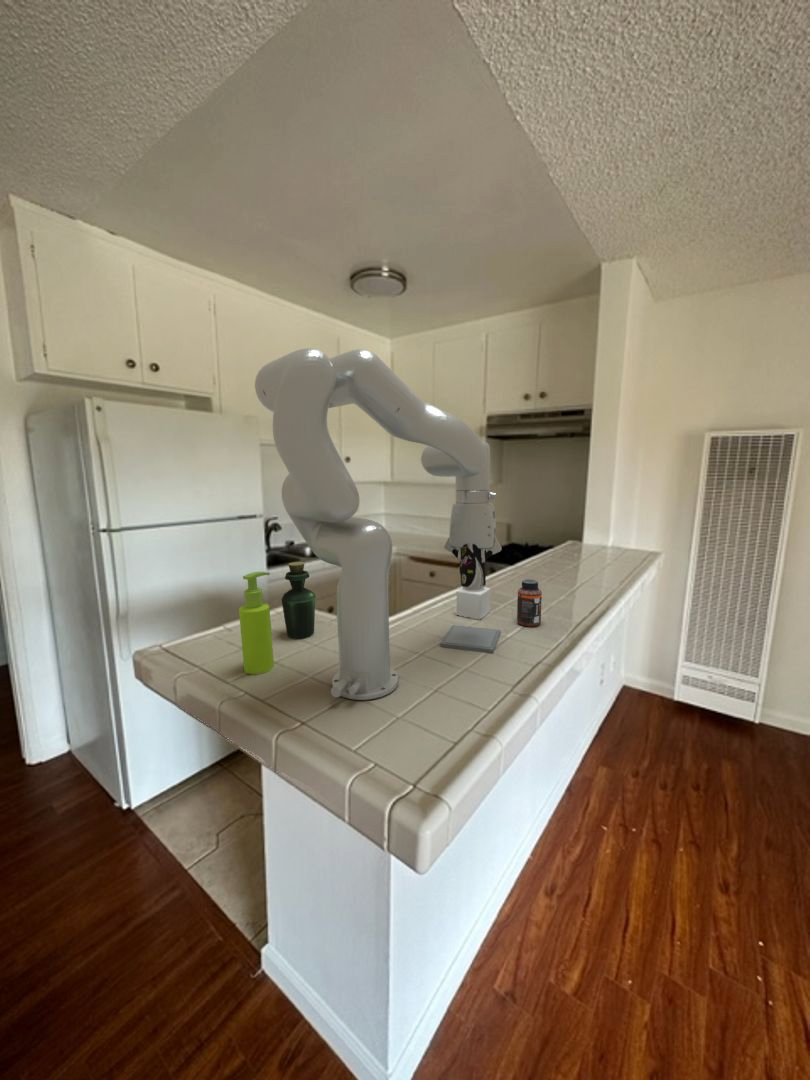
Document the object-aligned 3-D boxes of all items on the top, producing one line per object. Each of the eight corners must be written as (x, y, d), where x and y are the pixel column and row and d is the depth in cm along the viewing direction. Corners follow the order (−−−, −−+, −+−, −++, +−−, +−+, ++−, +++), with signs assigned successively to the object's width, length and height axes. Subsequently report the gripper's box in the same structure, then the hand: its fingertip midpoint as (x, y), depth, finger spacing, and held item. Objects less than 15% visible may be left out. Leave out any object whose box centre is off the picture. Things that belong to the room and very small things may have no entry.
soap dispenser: (283, 663, 93) (277, 571, 90) (257, 676, 87) (249, 579, 84) (264, 657, 96) (257, 568, 93) (237, 670, 90) (229, 575, 87)
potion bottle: (278, 634, 109) (273, 563, 106) (307, 625, 115) (303, 558, 112) (293, 643, 103) (288, 569, 100) (323, 634, 109) (319, 563, 106)
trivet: (493, 653, 96) (493, 649, 96) (440, 646, 100) (440, 642, 100) (500, 633, 107) (500, 629, 107) (452, 628, 111) (452, 624, 111)
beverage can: (455, 588, 102) (453, 537, 100) (472, 583, 106) (470, 534, 104) (474, 592, 98) (472, 539, 96) (491, 587, 101) (489, 536, 99)
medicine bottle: (490, 612, 122) (491, 570, 120) (480, 620, 116) (481, 576, 114) (466, 608, 126) (467, 567, 124) (456, 615, 120) (456, 573, 118)
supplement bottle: (543, 627, 110) (545, 584, 108) (519, 627, 111) (521, 584, 109) (537, 619, 116) (538, 577, 114) (514, 619, 116) (515, 578, 114)
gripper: (511, 496, 99) (510, 575, 102) (441, 496, 104) (442, 571, 107) (507, 499, 92) (506, 584, 95) (432, 499, 97) (433, 579, 100)
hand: (472, 577), depth 101 cm, fingers closed on beverage can, 3 cm apart
